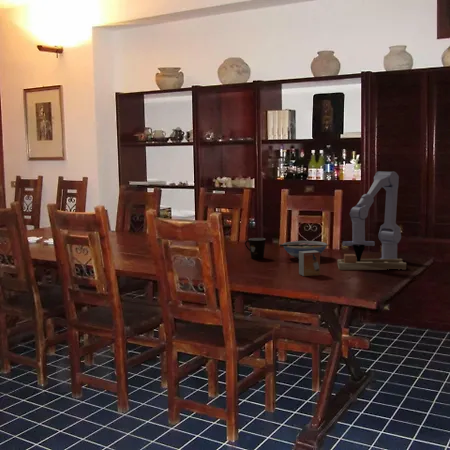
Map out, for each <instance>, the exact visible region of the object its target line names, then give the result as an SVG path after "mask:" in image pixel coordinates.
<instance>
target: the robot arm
mask: <svg viewBox="0 0 450 450" xmlns="http://www.w3.org/2000/svg"><path fill="white" fill-rule="evenodd" d="M399 179H400V176H399V174H398V173H397V172H396V171H382V170H380V171H376V173H375V175H374V176H373V182H372V184H371V186H370V188H369V189H368V191H367V193H364V194H363V195H361V197H360V199H359V201H358V202H357V204H356V205H355V206H352V207H351V208H350V212H349V216H350V221H351V223H352V224H351V227H352V240H348V241H344V240H343V241H342V247H346V246H347V247H352V248H353V251H354V254H355V255H356V259H357V261H360V259H362V255H363V253H364V251H365V248H366V246H368V247H369V246H370V247H371V246H372V247H374V246H375V244H376V243H375V242H376V241H373V240H366V219H367V218H368V215H369V210H370V208H371V207H372V204H374V201H375V200H374V198H375V196H376V195H377V194H378V192H379V191H380V190H381V189H382V188H383V189H384V190H385V203H384V204H385V206H384V221H383V224H381V225H380V226H379V227H380V228H379V232H378V239H379V241H380V243H381V257H379V259H398V244H399V243H400V242H401V239H402V233H401V227H400V226H399V225H398V224H397V205H398V191H399V183H400V182H399V181H400V180H399Z"/></svg>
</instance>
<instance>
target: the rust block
mask: <svg viewBox="0 0 450 450" xmlns="http://www.w3.org/2000/svg"><path fill="white" fill-rule="evenodd" d="M343 259H344V263H356V259H357V257H356V254H355V253H344V254H343Z"/></svg>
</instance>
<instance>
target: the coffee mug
mask: <svg viewBox="0 0 450 450" xmlns="http://www.w3.org/2000/svg"><path fill="white" fill-rule="evenodd" d="M244 243H245V247H246V249H248V251H249V252H250V253H249V254H250V258H252V259H251V260H263V259H264V258H265V248H266V238H264V237H252V238H248V240H246V241H245V242H244ZM247 243H249V245H247ZM248 246H249V247H248Z"/></svg>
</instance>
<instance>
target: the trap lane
mask: <svg viewBox="0 0 450 450" xmlns="http://www.w3.org/2000/svg"><path fill="white" fill-rule="evenodd" d="M337 267H338V270H339V271H356V270H357V271H359V270H360V271H362V270H363V271H365V270H366V271H369V270H370V271H373V270H374V271H379V270H380V271H381V270H383V271H384V270H386V271H387V269H388V271H389V269H398V271H400V269H402V271H403V270H407V262H406V261H405V262H404V261H403V258H397V259H380V258H361V259H360V261H357V258H356V263H344V258H338V259H337Z"/></svg>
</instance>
